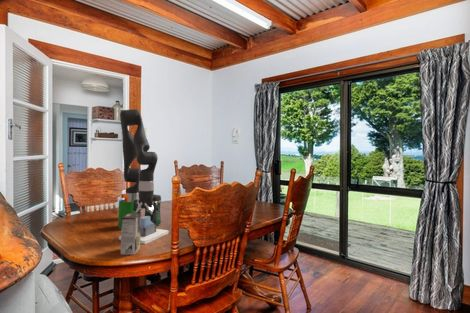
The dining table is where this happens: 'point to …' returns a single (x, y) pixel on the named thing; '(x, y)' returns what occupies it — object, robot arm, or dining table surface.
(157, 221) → the coffee jar
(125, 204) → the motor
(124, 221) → the coffee box
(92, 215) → the dining table surface
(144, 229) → the board
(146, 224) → the block
